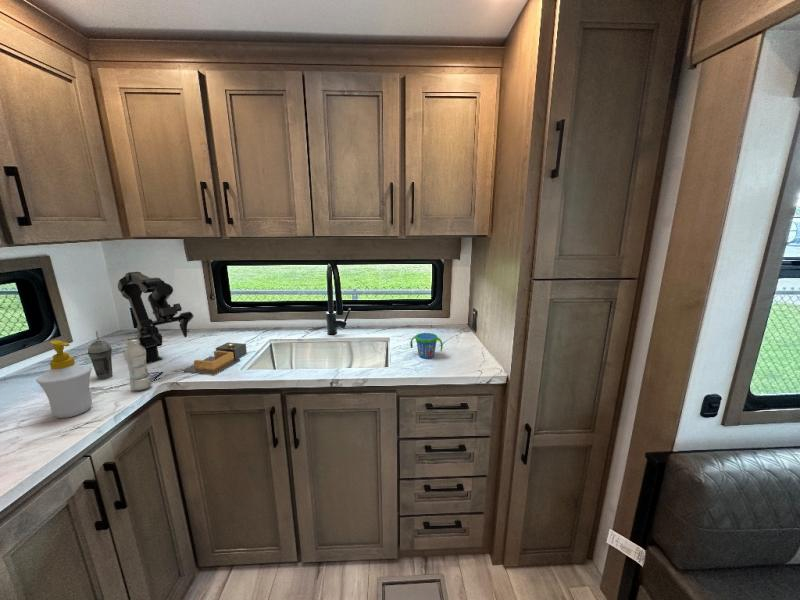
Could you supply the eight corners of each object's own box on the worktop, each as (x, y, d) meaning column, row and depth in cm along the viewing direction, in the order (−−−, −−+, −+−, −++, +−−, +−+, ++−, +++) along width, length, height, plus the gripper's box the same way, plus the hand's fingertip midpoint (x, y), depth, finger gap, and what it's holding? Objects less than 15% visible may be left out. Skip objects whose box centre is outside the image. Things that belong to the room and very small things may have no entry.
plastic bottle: (140, 393, 120) (131, 342, 116) (125, 392, 122) (116, 341, 118) (156, 385, 127) (148, 336, 122) (142, 384, 128) (133, 335, 124)
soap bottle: (59, 426, 100) (40, 351, 95) (37, 417, 105) (18, 345, 100) (107, 406, 112) (93, 337, 107) (86, 399, 117) (71, 333, 111)
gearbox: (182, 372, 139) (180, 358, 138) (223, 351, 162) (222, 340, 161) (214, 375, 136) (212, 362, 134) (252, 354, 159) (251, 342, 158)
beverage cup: (114, 371, 139) (106, 326, 135) (118, 376, 134) (109, 330, 130) (91, 377, 133) (81, 331, 129) (95, 383, 129) (85, 334, 125)
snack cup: (406, 357, 156) (407, 336, 154) (415, 350, 165) (415, 330, 163) (438, 362, 150) (438, 341, 148) (444, 355, 159) (445, 335, 157)
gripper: (137, 301, 123) (152, 339, 121) (190, 294, 138) (204, 327, 136) (130, 313, 129) (144, 349, 127) (182, 304, 144) (195, 336, 143)
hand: (173, 340), depth 133 cm, fingers open, 9 cm apart
